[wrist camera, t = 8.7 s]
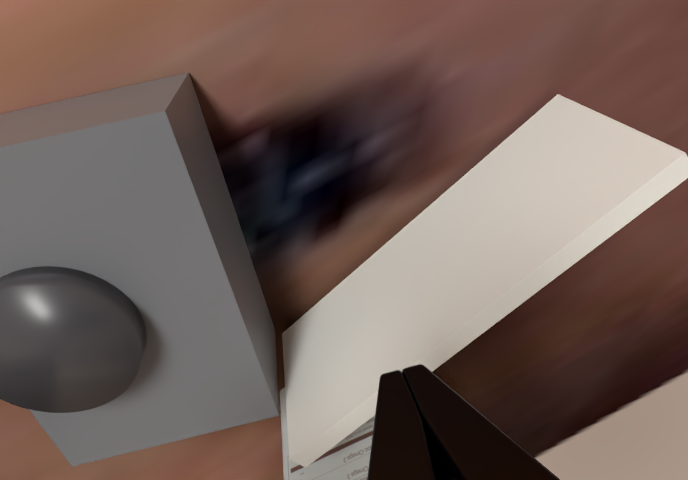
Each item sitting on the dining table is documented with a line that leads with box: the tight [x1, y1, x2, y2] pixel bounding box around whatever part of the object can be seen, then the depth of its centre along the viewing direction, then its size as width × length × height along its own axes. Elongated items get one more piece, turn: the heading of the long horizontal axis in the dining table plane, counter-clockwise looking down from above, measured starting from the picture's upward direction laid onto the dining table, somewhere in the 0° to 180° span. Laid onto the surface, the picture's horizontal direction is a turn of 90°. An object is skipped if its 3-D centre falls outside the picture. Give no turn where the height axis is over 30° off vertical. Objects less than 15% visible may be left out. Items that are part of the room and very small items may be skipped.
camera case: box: [0, 72, 279, 466], centre depth 17 cm, size 8×12×6 cm, turn 10°
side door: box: [282, 94, 688, 468], centre depth 19 cm, size 1×16×7 cm, turn 133°
